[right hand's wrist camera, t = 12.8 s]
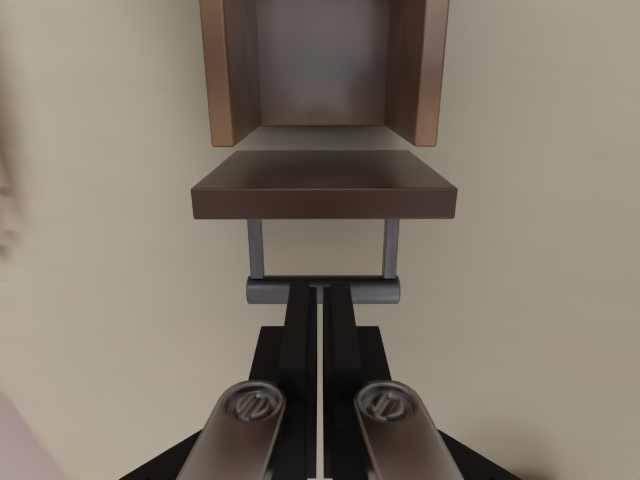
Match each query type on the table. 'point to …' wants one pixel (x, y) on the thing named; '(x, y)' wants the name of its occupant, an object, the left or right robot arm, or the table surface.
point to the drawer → (324, 122)
